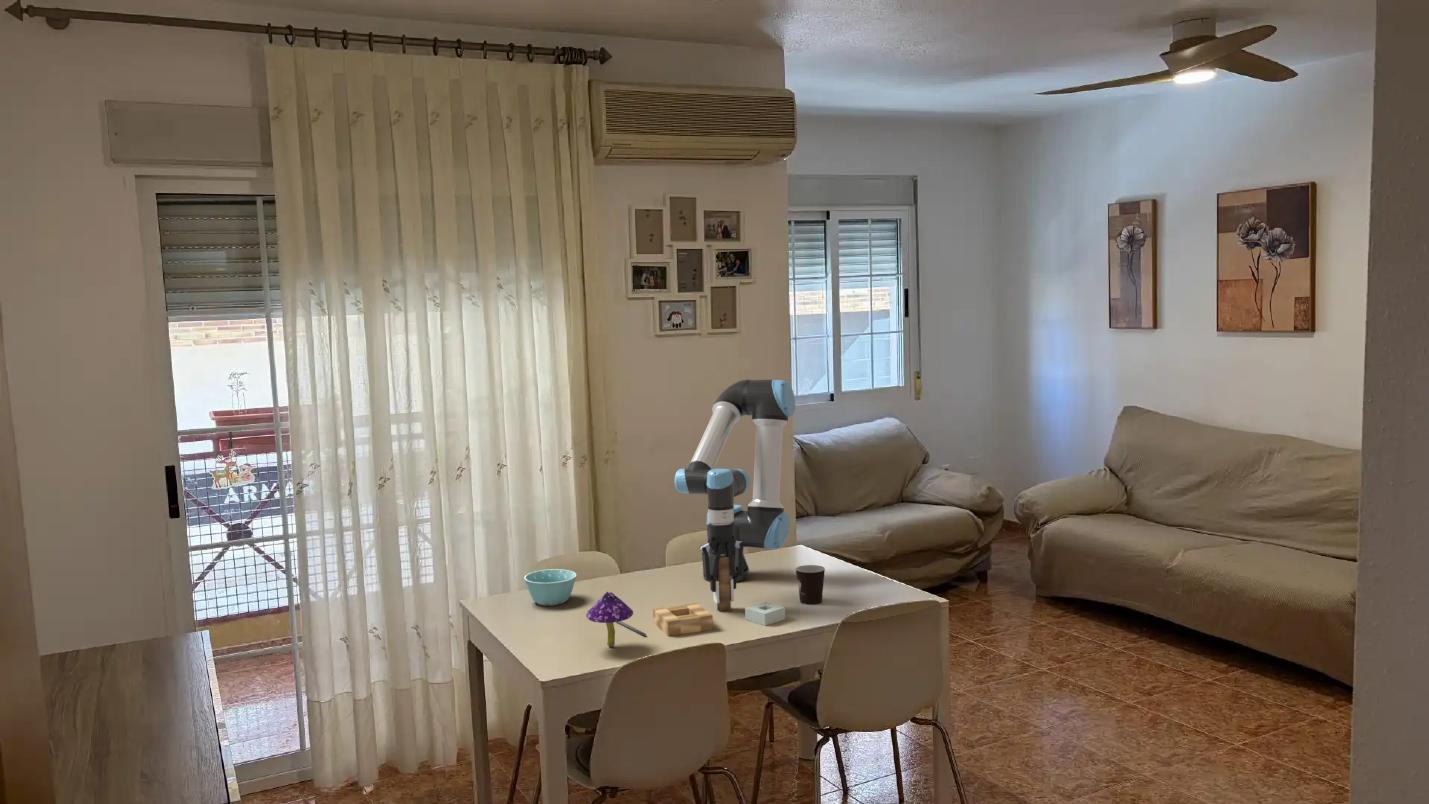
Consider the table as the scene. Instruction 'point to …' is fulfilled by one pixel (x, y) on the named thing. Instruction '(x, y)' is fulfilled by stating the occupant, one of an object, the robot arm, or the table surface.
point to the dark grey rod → (631, 628)
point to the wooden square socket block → (682, 619)
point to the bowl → (550, 586)
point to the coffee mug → (810, 583)
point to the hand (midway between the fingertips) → (723, 600)
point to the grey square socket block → (765, 613)
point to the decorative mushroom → (609, 613)
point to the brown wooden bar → (724, 584)
